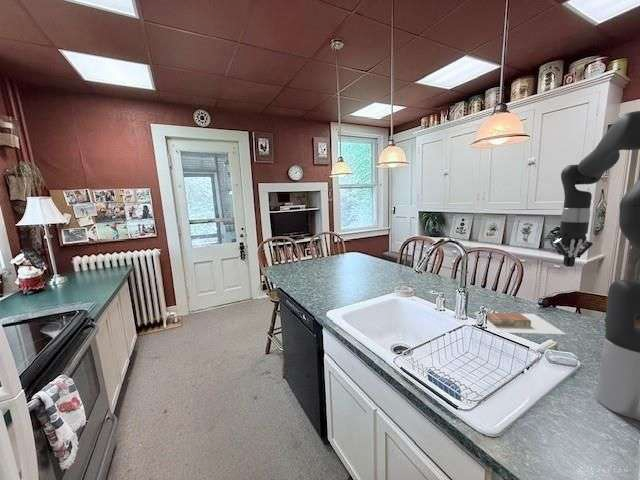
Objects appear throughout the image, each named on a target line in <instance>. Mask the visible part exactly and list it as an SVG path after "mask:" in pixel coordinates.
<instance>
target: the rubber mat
mask: <svg viewBox="0 0 640 480" xmlns="http://www.w3.org/2000/svg"><path fill="white" fill-rule="evenodd" d="M477 313H478V312H473V314H474V315H475V316H477ZM521 314H522V315H523V316H525V317H526V318H528V319H529V320H531V327H525V326H494V325H493V324H492V323H491V322H489V321H488V320H487V324H486V326H487V327H488V328H490V327H491V328H494V329H497V330H500V331H503V332H506V334H507V333H511V334H540V335H541V334H542V335H543V334H545V335H567V333H565V332H563V330H561V329H559V328H557V326H554V325H552V324H551V323H549V322H548V321H547V320H544V319H543V318H541V317H539V316H538V315H536V314H535V313H521ZM491 328H490V329H491Z"/></svg>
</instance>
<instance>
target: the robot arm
mask: <svg viewBox="0 0 640 480" xmlns="http://www.w3.org/2000/svg"><path fill="white" fill-rule="evenodd" d="M635 150H637V151H638V150H640V110H636V111H631V112H627V113H624V114H623V115H621V116H620V117H618V118H617V119H616V120H615V122H613V123H612V125H611V126H610V127H609V129H608V130H607V131H606V133H605V134H604V135H603V137H602V138H601V139H600V141H599V143H598V144H597V145H596V147H595V148H594V149H593V150H592V151H591V152H590V153H589V154H587V155H586V156H585V157H584V158H583V159H582V160H581V161H579V163H578V164H569V165H567V166H565V167H564V168H563V169H562V170H561V173H560V179H561V184H562V187H563V192H564V200H563V208H562V209H563V210H562V212H561V218H560V224H559V233H560V234H559V236H558V238H557V239H556V240H555V241H554V240H553V241H551V245H552V247H553V248H554V249H555V251H556V252H557V253H558V255H561V256H563V262H562V264H563V265H564V266H565V267H566V268H573V267H574V266H575V263H576V258H577V257H578V256H583V255H584V254H585V253H586V252H587V251H588V250H589V249H590V248H591V247H592V246H593V242H591V241H589V240H587V234H588V231H589V226H590V225H589V224H590V219H591V204H592V198H593V195H592V192H590V191H585V190H579V189H578V188H577V187H576V185H593V184H597V183H598V182H599V181H600V180H601V179H602V177H603V175H604V173H605V172H607V171H608V170H610V169H611V168H613V167H614V166H615V165H616V164H617V163H618V161H619V159H620V157H621V156H620V155H621V153H620V151H635ZM618 220H619V221H618V223H619V229H620V230H621V233H622V234H623V235H624V237H625V238H626V239H627V241H628V242H629V243H630V244H631V245H632V246H633V247H634V248H635V250H636V251H638V253H639V254H640V178H639V179H638V180H637V181H636V182H634V184H633V185H632V186H631V187H630V188H629V189H628V190H627V192H625V194H624V195H623V197H622V198H621V200H620V201H619V218H618ZM636 320H640V280H633V279H632V280H631V279H630V280H629V279H617V280H615V281H613V282H612V283H611V284H610V286H609V288H608V292H607V297H606V311H605V320H604V325H605V327H604V328H605V333H604V340H603V346H602V352H601V356H600V357H601V359H600V365H599V371H598V377H597V384H596V387H595V396H594V397H595V398H596V400H597V401H598V403H600V405H602V406H603V407H606V409H608V410H610V411H612V412H614V413H615V414H618V415H620V416H624V417H626V418H630V419H634V420H636V421H639V422H640V328H639V327H638V326H636Z"/></svg>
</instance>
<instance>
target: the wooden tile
mask: <svg viewBox="0 0 640 480" xmlns="http://www.w3.org/2000/svg"><path fill="white" fill-rule="evenodd" d="M486 313H487V320H488V321H489V322H491V323H492V324H493V325H494V326H525V327H531V320H529V319H528V318H526V317H525V316H523V315H522V314H523V313H520V312H514V313H513V312H486Z"/></svg>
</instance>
